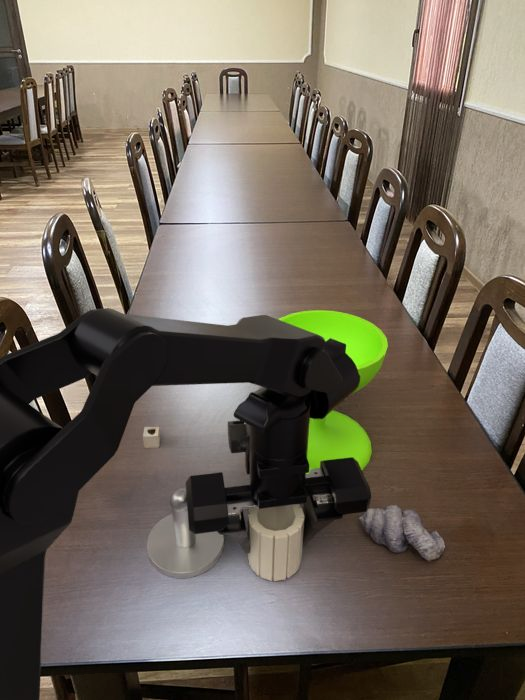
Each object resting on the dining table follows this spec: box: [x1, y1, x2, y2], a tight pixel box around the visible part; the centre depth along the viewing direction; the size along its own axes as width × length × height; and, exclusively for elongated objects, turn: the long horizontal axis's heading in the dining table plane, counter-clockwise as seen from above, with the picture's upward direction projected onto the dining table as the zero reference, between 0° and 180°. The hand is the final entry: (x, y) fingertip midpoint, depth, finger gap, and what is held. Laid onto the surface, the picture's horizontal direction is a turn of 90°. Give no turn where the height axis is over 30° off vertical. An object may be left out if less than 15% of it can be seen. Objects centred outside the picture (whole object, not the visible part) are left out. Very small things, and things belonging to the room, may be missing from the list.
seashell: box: [359, 504, 446, 562], centre depth 63 cm, size 5×5×10 cm
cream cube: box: [142, 426, 161, 449], centre depth 78 cm, size 2×2×2 cm
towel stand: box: [146, 487, 225, 579], centre depth 61 cm, size 9×9×9 cm
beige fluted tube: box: [247, 504, 304, 582], centre depth 60 cm, size 6×6×7 cm
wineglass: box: [277, 309, 389, 474], centre depth 75 cm, size 16×16×18 cm
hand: (275, 546), depth 60 cm, fingers closed on beige fluted tube, 6 cm apart
